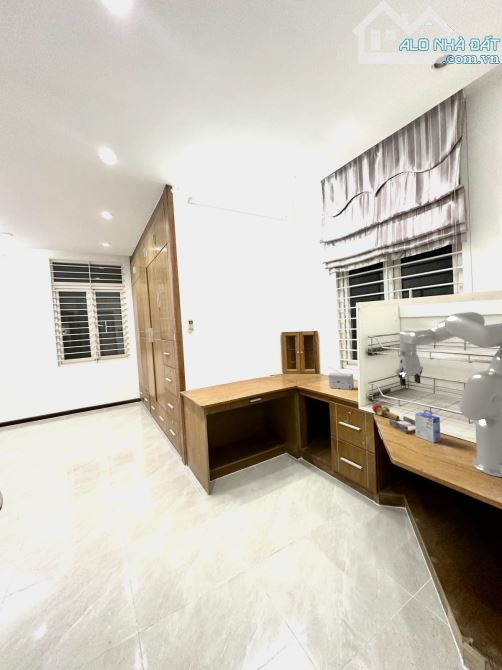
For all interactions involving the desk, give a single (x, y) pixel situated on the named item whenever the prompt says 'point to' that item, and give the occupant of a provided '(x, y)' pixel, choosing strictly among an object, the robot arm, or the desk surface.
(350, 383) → the stereo radio cassette player
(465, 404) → the robot arm
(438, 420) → the ink cartridge box
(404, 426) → the jig
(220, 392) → the desk surface
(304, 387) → the desk surface
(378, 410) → the kendama
